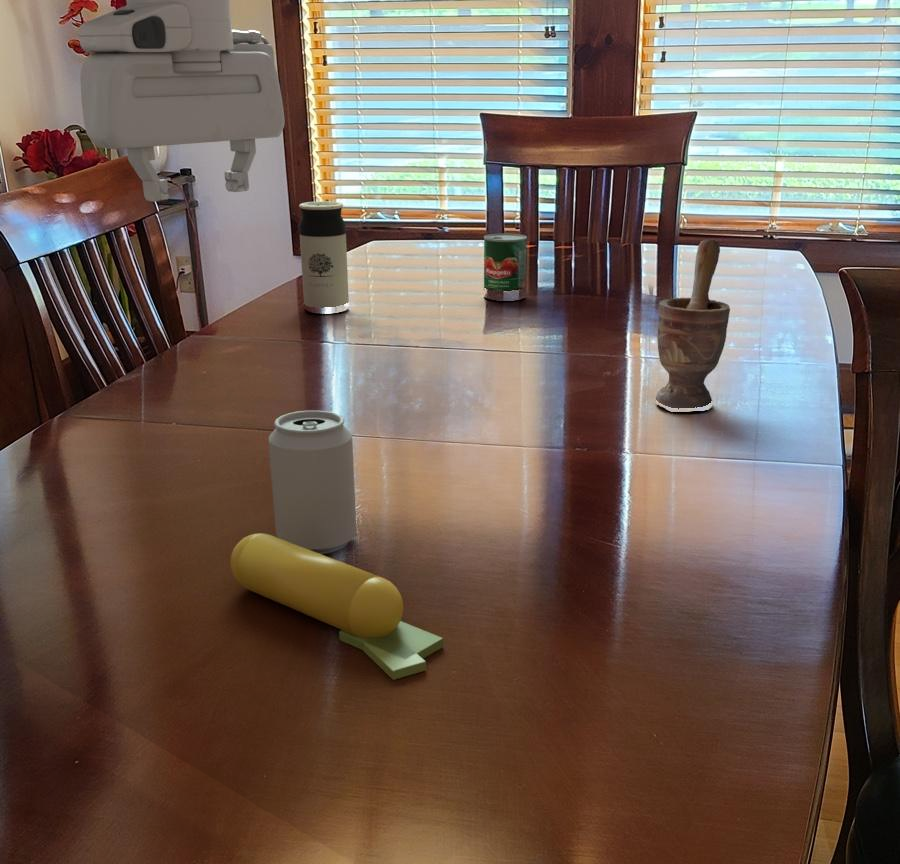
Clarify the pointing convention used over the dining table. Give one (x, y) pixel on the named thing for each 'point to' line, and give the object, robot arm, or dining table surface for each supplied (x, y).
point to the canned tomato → (504, 262)
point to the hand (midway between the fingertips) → (198, 195)
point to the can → (313, 480)
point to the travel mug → (323, 254)
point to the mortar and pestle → (692, 335)
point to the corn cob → (336, 600)
